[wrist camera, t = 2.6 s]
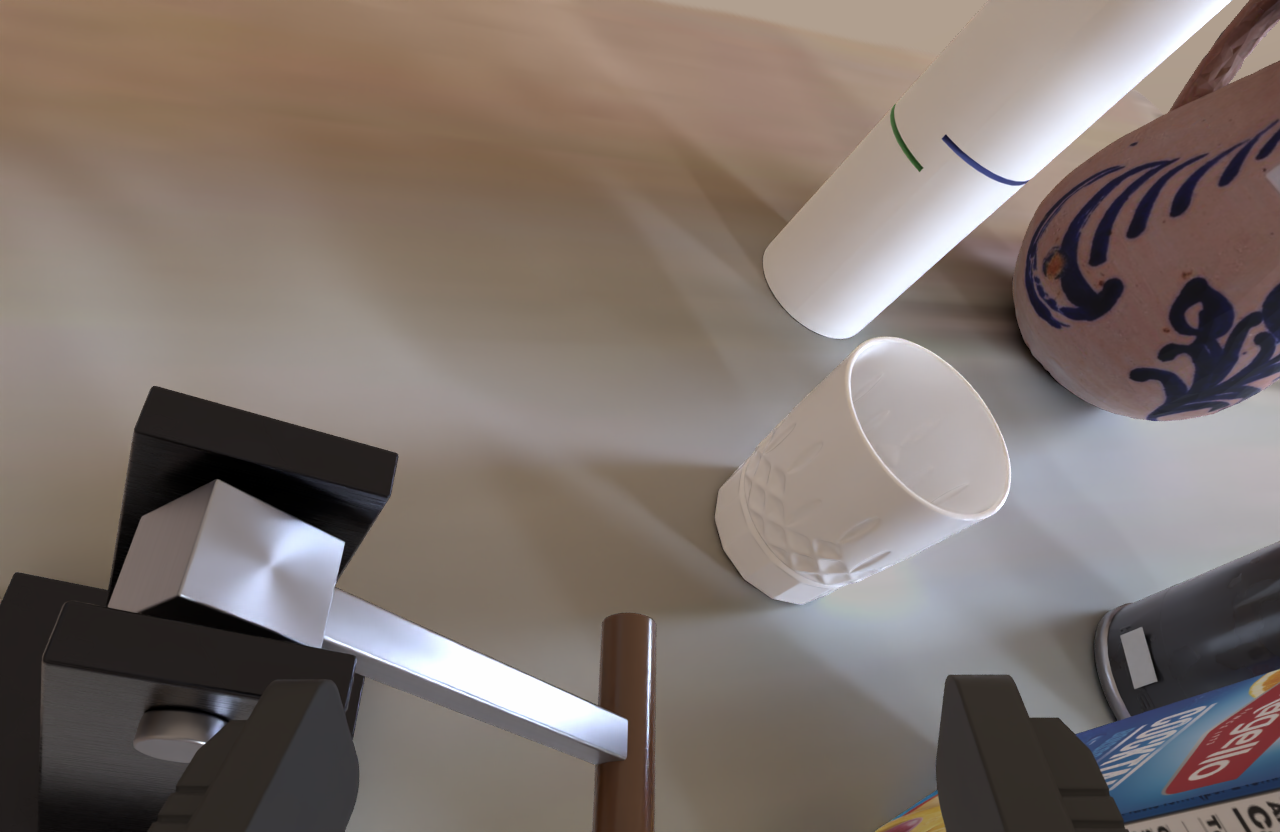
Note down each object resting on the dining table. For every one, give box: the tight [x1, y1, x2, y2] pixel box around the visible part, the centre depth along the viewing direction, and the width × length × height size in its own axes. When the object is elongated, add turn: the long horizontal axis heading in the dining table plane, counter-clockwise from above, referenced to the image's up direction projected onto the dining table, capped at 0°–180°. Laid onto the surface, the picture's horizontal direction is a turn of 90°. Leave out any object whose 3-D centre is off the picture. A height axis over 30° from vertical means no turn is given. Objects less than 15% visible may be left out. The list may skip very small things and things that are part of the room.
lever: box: [108, 479, 656, 832], centre depth 21 cm, size 14×7×2 cm, turn 86°
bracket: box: [0, 386, 398, 832], centre depth 21 cm, size 10×8×15 cm
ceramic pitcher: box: [1013, 0, 1280, 421], centre depth 56 cm, size 18×21×25 cm
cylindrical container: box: [763, 0, 1231, 339], centre depth 44 cm, size 7×7×25 cm
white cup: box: [715, 337, 1011, 605], centre depth 38 cm, size 8×8×10 cm
